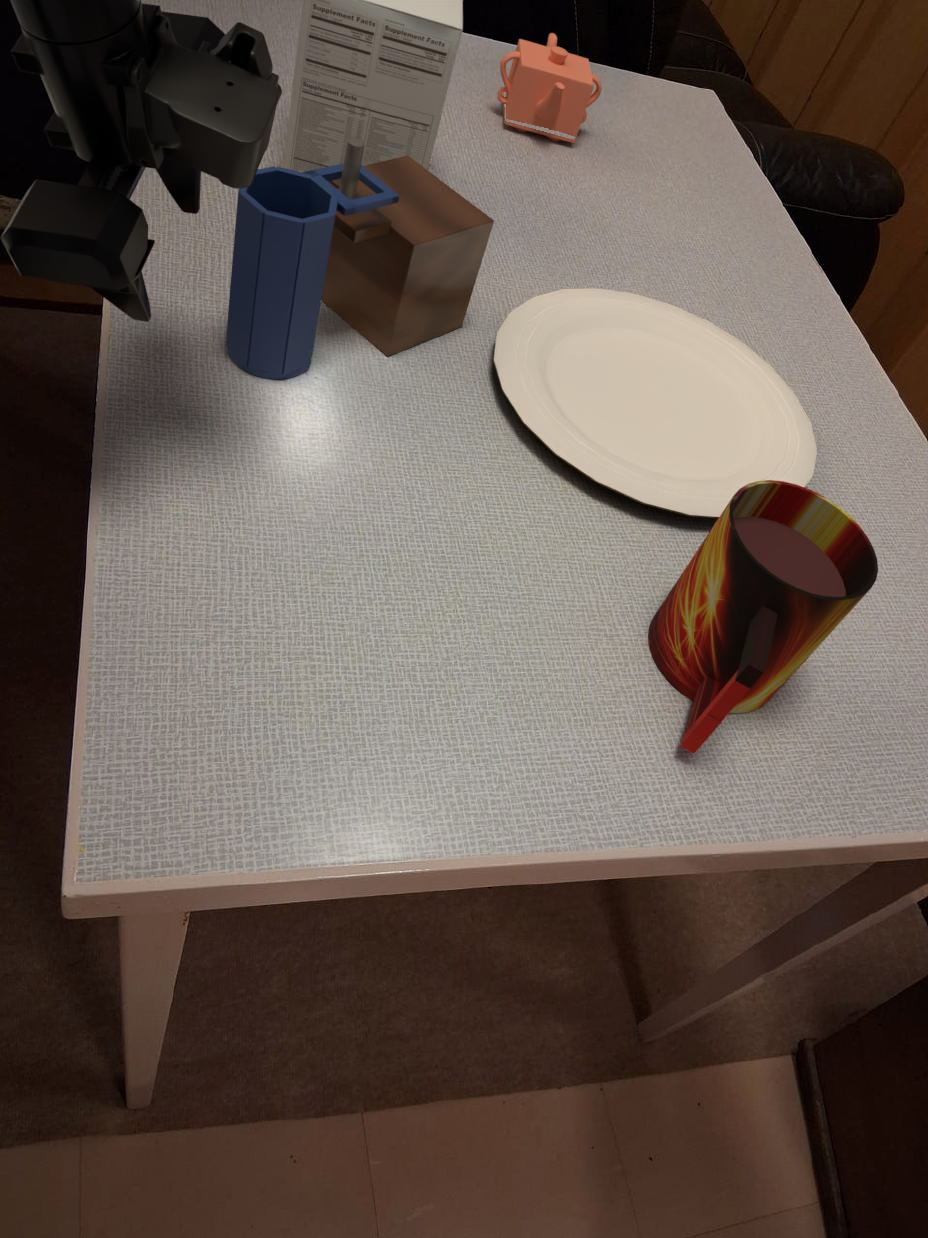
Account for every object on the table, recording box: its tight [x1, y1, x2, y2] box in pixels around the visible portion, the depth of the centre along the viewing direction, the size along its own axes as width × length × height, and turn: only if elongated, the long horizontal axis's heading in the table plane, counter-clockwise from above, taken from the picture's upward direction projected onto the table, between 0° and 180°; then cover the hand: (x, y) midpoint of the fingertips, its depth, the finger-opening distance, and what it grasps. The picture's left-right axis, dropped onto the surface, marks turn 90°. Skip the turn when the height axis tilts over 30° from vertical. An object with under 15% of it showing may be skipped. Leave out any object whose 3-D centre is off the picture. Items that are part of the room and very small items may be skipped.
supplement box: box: [282, 0, 464, 173], centre depth 87 cm, size 13×13×18 cm
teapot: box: [496, 32, 602, 144], centre depth 109 cm, size 12×15×8 cm
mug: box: [647, 480, 879, 755], centre depth 60 cm, size 10×14×12 cm
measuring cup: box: [225, 164, 399, 380], centre depth 70 cm, size 11×6×13 cm, turn 135°
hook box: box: [321, 137, 495, 357], centre depth 75 cm, size 13×10×16 cm
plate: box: [492, 287, 818, 519], centre depth 82 cm, size 29×29×2 cm
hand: (167, 263), depth 59 cm, fingers open, 9 cm apart
